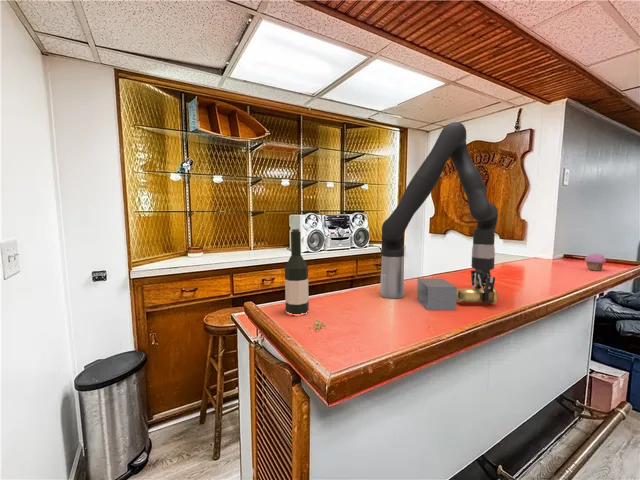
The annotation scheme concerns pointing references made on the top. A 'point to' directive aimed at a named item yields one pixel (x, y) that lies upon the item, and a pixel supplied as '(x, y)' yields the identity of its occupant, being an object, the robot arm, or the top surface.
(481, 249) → the robot arm
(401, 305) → the top surface
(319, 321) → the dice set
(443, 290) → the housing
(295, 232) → the wine bottle
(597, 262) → the cupcake
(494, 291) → the end cap
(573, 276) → the top surface
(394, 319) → the top surface
